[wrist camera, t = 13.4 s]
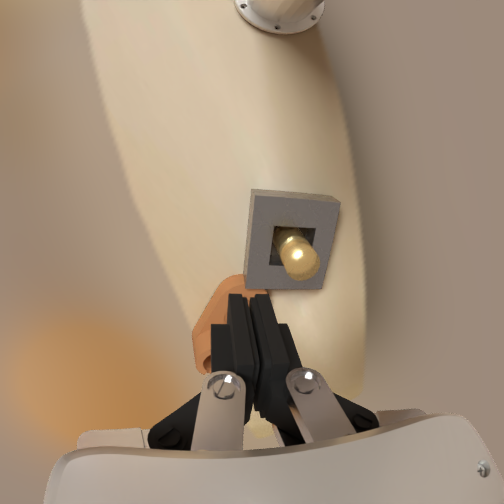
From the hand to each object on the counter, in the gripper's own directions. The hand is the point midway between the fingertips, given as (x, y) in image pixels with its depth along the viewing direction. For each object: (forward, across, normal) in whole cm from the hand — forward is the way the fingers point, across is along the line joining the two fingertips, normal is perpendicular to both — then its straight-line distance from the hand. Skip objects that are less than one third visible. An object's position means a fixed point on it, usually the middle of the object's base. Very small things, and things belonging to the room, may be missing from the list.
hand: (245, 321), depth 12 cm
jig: (+29, -10, +8) cm, 32 cm away
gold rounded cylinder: (+29, -10, +8) cm, 32 cm away
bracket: (+30, -2, +23) cm, 38 cm away
